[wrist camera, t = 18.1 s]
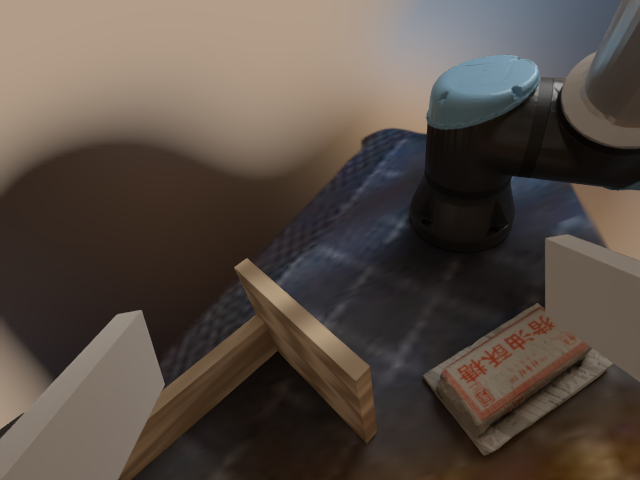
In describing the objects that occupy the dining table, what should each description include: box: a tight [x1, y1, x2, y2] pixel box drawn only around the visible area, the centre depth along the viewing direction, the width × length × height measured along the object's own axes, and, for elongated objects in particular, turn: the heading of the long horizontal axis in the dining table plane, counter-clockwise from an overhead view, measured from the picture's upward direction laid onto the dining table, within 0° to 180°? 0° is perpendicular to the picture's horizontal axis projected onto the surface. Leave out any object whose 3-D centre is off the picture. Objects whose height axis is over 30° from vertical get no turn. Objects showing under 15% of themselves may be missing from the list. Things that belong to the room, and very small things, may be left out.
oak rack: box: [118, 259, 377, 480], centre depth 36 cm, size 17×28×16 cm, turn 133°
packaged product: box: [423, 303, 613, 456], centre depth 43 cm, size 18×5×10 cm
